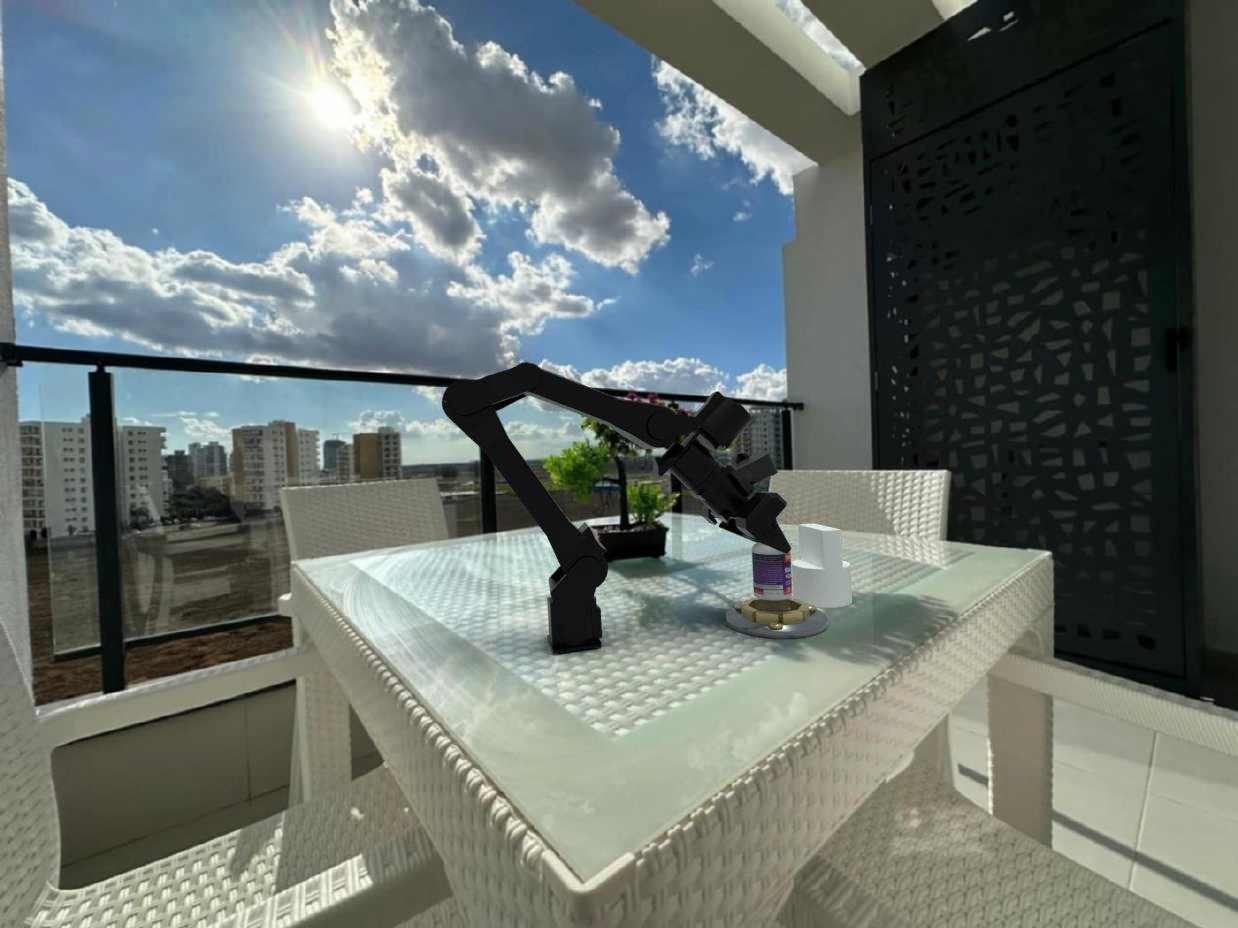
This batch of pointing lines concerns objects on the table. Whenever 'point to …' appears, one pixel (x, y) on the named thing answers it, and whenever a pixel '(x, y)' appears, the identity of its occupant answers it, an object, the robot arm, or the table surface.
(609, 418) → the robot arm
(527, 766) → the table surface
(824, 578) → the base with upright slab
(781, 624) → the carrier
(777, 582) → the pill bottle
